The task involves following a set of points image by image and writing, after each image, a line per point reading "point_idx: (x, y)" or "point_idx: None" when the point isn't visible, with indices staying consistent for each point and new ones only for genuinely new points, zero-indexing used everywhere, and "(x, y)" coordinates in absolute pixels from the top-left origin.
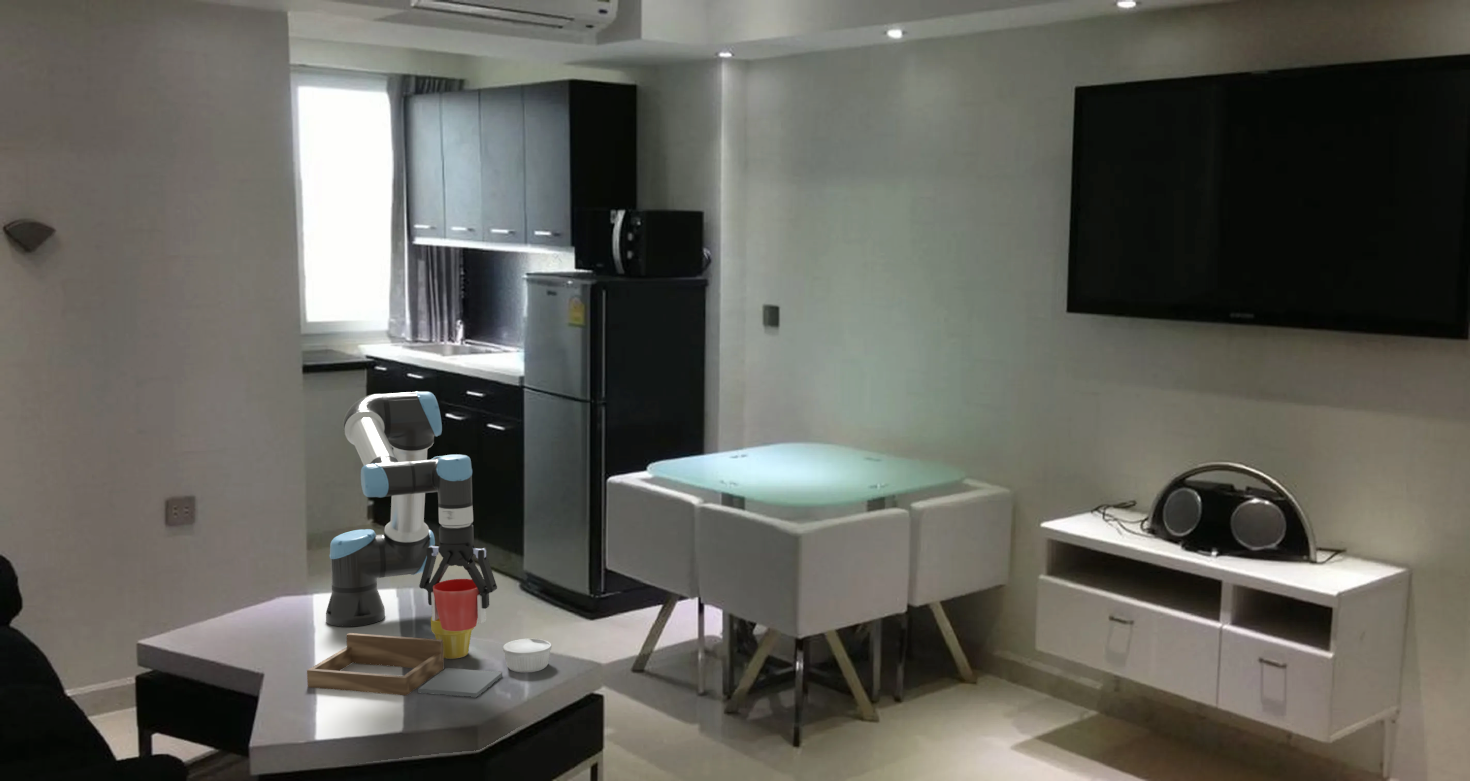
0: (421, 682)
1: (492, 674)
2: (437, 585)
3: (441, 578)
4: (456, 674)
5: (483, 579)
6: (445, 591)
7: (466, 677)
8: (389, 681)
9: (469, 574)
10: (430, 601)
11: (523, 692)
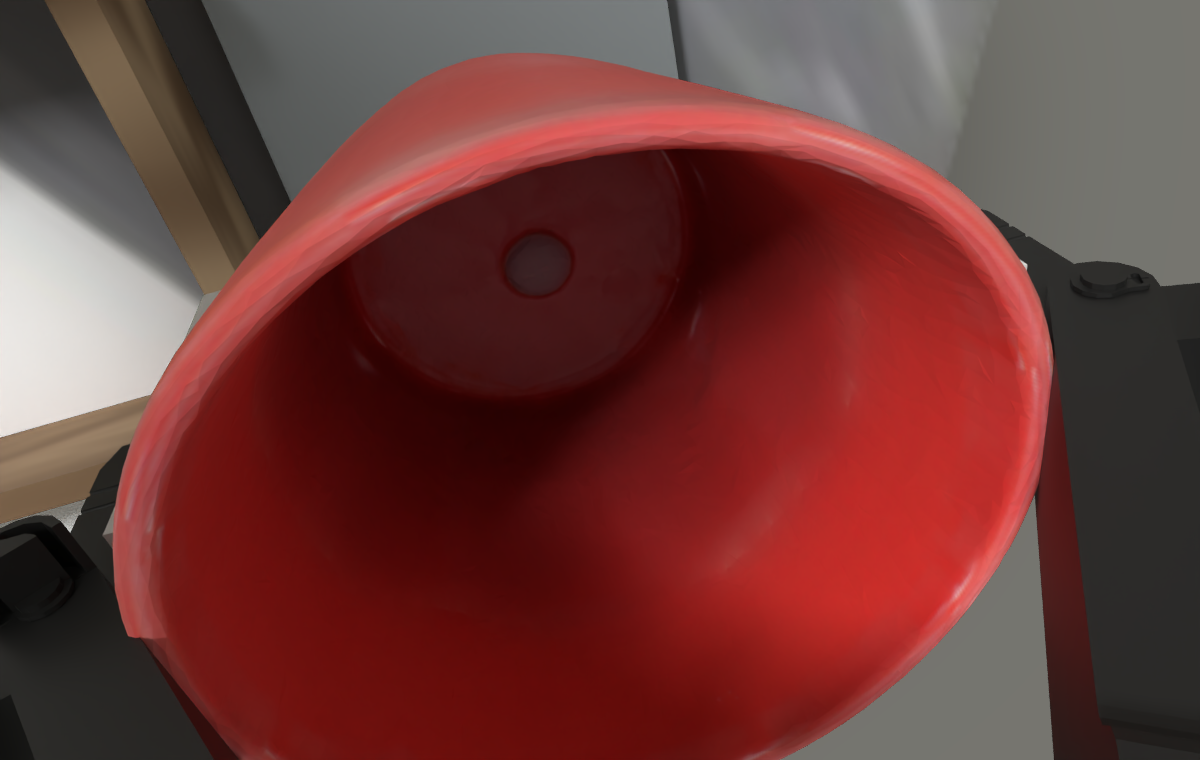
0: (242, 212)
1: None
2: (221, 676)
3: (178, 694)
4: (357, 8)
5: (1192, 428)
6: None
7: (469, 30)
8: None
9: (1056, 755)
10: None
11: (903, 22)
